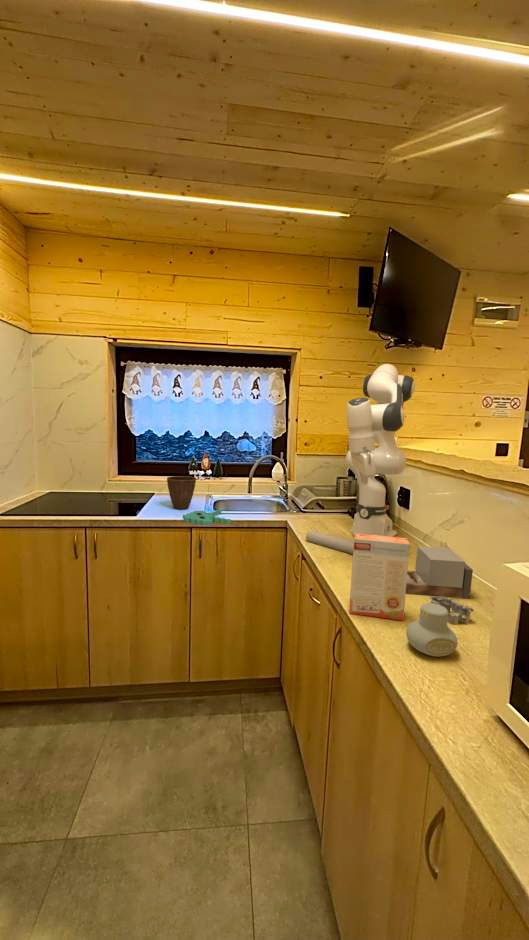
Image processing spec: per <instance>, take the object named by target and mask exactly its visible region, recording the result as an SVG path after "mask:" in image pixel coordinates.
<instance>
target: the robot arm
mask: <svg viewBox="0 0 529 940" xmlns="http://www.w3.org/2000/svg"><path fill="white" fill-rule="evenodd" d="M361 387H362V388H361V389H362V393H363V395H364V396H365V397H357V398H352V399H351V400H349V401H348V402H347V405H346V426H347V429H348V437H347V438H348V442H347V446H348V451H347V453H346V455H345V464H346V466H347V467H348V469H350V470H351V471H352V473H353V474H354V475H355V478H356V480H357V482H358V490H359V491H358V495H359V496H358V503H357V506H356V511H357V512H356V513H355V514H354V517H353V524H352V528H350V530H349V532H351V533H352V535H353V536H354V537H355V533H358V534H368V535H378V536H389V537H396V535H397V534H398V531H397V530H395V529H393V520H392V519H391V518H390V517H389V516H388V514H387V510H389V508H390V505H389V504H386V493H387V490H386V487H385V485H384V484H383V483H382V482H380V481H379V480H377V479H376V478H375V476H376V474H377V475H378V474H379V475H385V476H386V475H387V476H391V475H392V476H393V475H400V474H402V473H403V472H404V470H405V469H406V466H407V456H406V455H405V454H404V452H403V451H402V450H401V449H399V447H398V445H397V444H396V440H395V437H396V435H395V434H396V432H398V431H399V430H400V429H402V427H403V426H404V423H405V412H404V403H406V402H408V401H409V400H410V399H411V398H412V396H413V394H414V392H415V391H416V390H415V389H416V384H415V380H414V378H413V377H412V376H410V375H402V374H399V372H398V369H397V367H396V366H395V365H393V364H391V363H384V364H380V365H379V366H378V367H377V368H376V369H375V370H374V371H373V373H369V374H367V375H366V376H365V377H364V379H363V382H362V385H361ZM369 398H370V399H371V400H373V401H375V402H376V404H371V401H370V399H369ZM375 443H376V444H378V447H376V444H375Z"/></svg>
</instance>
